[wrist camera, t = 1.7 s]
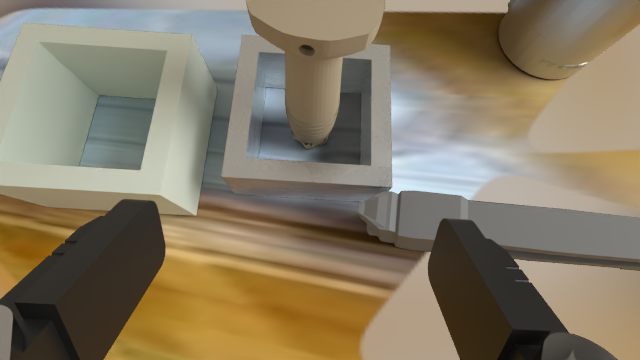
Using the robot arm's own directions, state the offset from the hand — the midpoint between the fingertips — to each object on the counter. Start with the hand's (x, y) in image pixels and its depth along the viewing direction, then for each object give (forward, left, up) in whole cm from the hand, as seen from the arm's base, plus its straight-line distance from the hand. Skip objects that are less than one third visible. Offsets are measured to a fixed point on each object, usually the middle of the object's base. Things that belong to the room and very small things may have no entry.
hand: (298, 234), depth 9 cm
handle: (-11, 0, -18) cm, 21 cm away
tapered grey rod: (-2, +17, -18) cm, 25 cm away
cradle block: (-9, -15, -17) cm, 25 cm away
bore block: (-11, 0, -17) cm, 21 cm away
